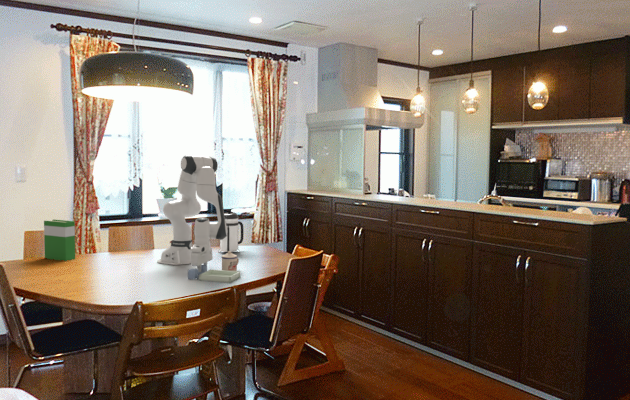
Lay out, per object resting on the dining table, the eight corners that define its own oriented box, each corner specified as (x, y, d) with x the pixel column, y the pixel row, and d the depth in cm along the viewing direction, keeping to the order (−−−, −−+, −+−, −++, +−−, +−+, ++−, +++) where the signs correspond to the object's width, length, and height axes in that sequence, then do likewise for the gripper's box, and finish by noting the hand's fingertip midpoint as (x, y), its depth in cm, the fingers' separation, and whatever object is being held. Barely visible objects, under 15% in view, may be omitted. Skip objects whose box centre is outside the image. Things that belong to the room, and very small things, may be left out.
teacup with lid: (229, 273, 311) (229, 253, 310) (218, 271, 316) (218, 251, 315) (243, 270, 321) (244, 250, 320) (232, 268, 326) (232, 248, 325)
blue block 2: (197, 274, 308) (197, 265, 307) (200, 273, 311) (200, 264, 311) (203, 275, 307) (203, 266, 306) (207, 273, 310) (207, 264, 310)
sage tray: (199, 280, 294) (199, 274, 294) (210, 274, 308) (210, 269, 308) (230, 282, 290) (230, 277, 290) (240, 277, 303) (240, 271, 303)
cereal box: (44, 258, 345) (43, 220, 343) (54, 256, 352) (53, 219, 349) (65, 261, 338) (65, 222, 336) (75, 259, 345) (74, 221, 343)
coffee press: (239, 254, 369) (240, 210, 366) (216, 254, 369) (216, 210, 367) (243, 250, 386) (243, 208, 384) (220, 249, 386) (221, 207, 384)
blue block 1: (188, 279, 297) (188, 269, 297) (191, 277, 301) (191, 268, 300) (194, 279, 296) (194, 270, 296) (198, 277, 300) (198, 268, 299)
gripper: (205, 243, 318) (205, 266, 320) (188, 249, 299) (188, 274, 300) (215, 244, 317) (215, 267, 318) (199, 250, 297) (199, 275, 298)
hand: (202, 270), depth 309 cm, fingers closed on blue block 2, 4 cm apart
